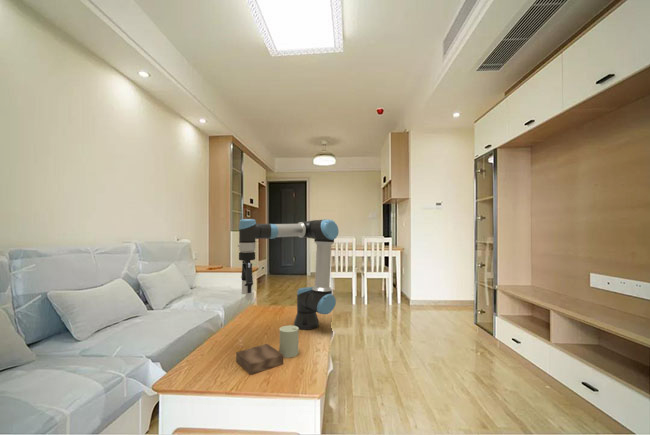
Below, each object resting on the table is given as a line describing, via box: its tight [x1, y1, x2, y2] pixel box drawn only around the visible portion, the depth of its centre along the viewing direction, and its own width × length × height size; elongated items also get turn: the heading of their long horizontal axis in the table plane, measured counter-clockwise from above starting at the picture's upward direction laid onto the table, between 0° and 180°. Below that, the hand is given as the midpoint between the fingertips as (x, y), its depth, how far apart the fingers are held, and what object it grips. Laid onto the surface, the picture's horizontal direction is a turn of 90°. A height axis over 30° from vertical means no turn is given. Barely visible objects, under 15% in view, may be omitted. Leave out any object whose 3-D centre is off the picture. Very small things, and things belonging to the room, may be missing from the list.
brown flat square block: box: [235, 343, 284, 376], centre depth 122 cm, size 15×15×4 cm
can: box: [278, 325, 300, 359], centre depth 132 cm, size 9×9×12 cm
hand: (246, 297), depth 131 cm, fingers open, 13 cm apart
